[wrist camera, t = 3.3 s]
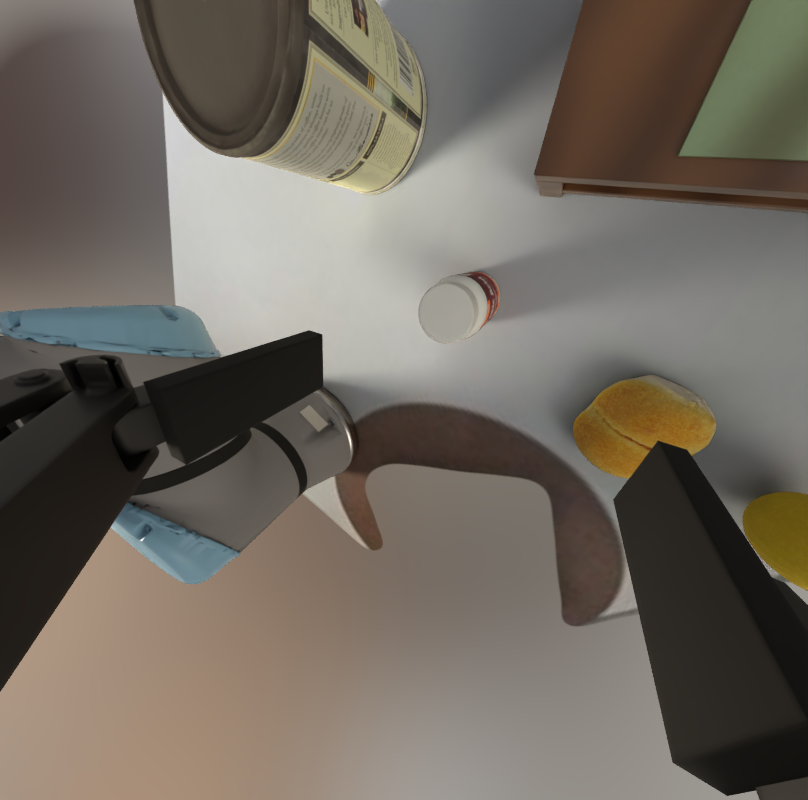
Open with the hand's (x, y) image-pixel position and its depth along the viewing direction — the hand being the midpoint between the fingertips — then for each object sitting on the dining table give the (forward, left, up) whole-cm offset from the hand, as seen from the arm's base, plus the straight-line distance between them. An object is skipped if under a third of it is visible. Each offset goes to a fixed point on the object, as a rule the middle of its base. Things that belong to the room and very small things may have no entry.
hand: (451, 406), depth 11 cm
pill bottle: (-4, +1, -18) cm, 18 cm away
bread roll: (+12, -6, -18) cm, 22 cm away
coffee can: (-16, +13, -18) cm, 27 cm away
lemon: (+23, -9, -18) cm, 31 cm away
